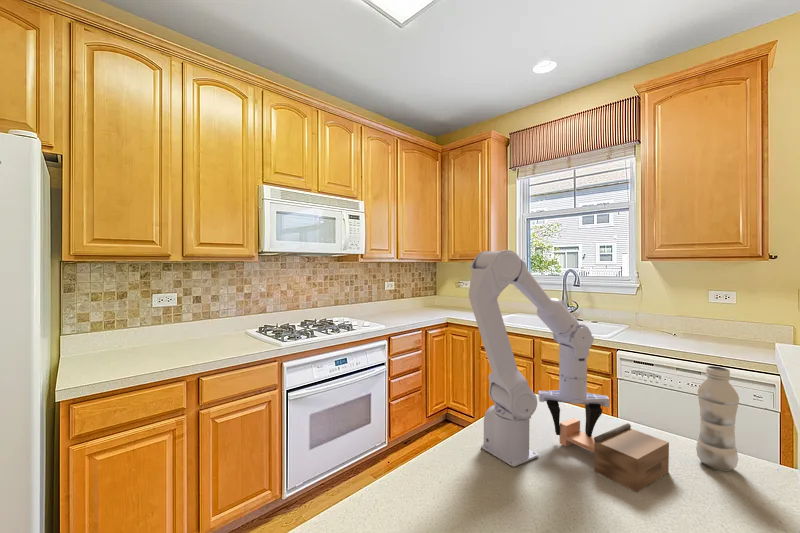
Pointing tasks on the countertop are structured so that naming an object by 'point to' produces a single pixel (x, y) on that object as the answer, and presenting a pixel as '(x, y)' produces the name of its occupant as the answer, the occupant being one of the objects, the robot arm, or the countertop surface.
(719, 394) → the plastic bottle
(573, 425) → the peach l-shaped bracket
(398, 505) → the countertop surface
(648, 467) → the dispenser
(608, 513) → the countertop surface
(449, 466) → the countertop surface
